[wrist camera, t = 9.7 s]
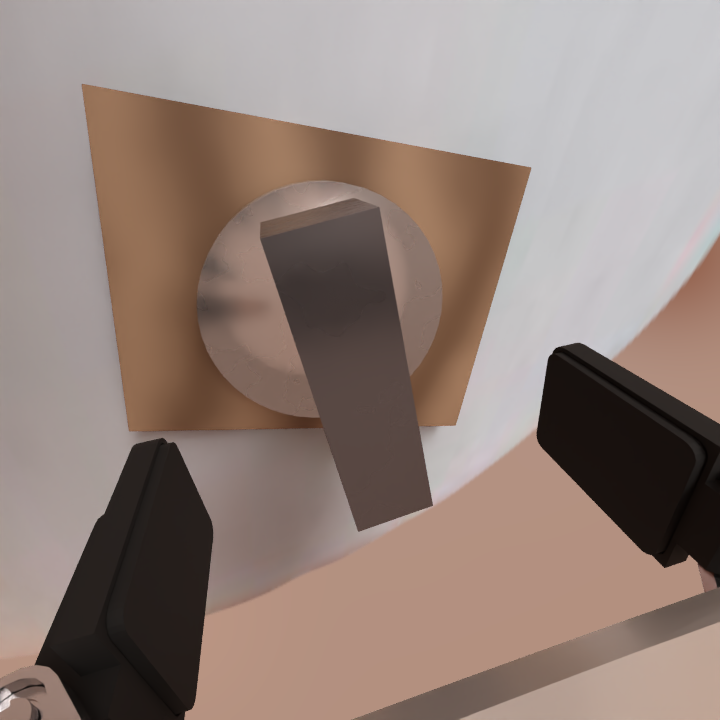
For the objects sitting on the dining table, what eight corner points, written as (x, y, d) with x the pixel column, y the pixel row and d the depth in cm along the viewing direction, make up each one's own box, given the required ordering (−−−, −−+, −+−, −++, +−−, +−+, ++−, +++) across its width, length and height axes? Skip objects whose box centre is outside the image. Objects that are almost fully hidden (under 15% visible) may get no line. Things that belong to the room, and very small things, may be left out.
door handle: (155, 218, 17) (52, 269, 8) (414, 151, 18) (546, 140, 10) (264, 455, 24) (265, 612, 15) (446, 397, 25) (538, 513, 16)
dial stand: (139, 415, 23) (128, 437, 21) (101, 92, 16) (79, 82, 14) (442, 412, 28) (455, 430, 26) (509, 167, 21) (533, 167, 20)
